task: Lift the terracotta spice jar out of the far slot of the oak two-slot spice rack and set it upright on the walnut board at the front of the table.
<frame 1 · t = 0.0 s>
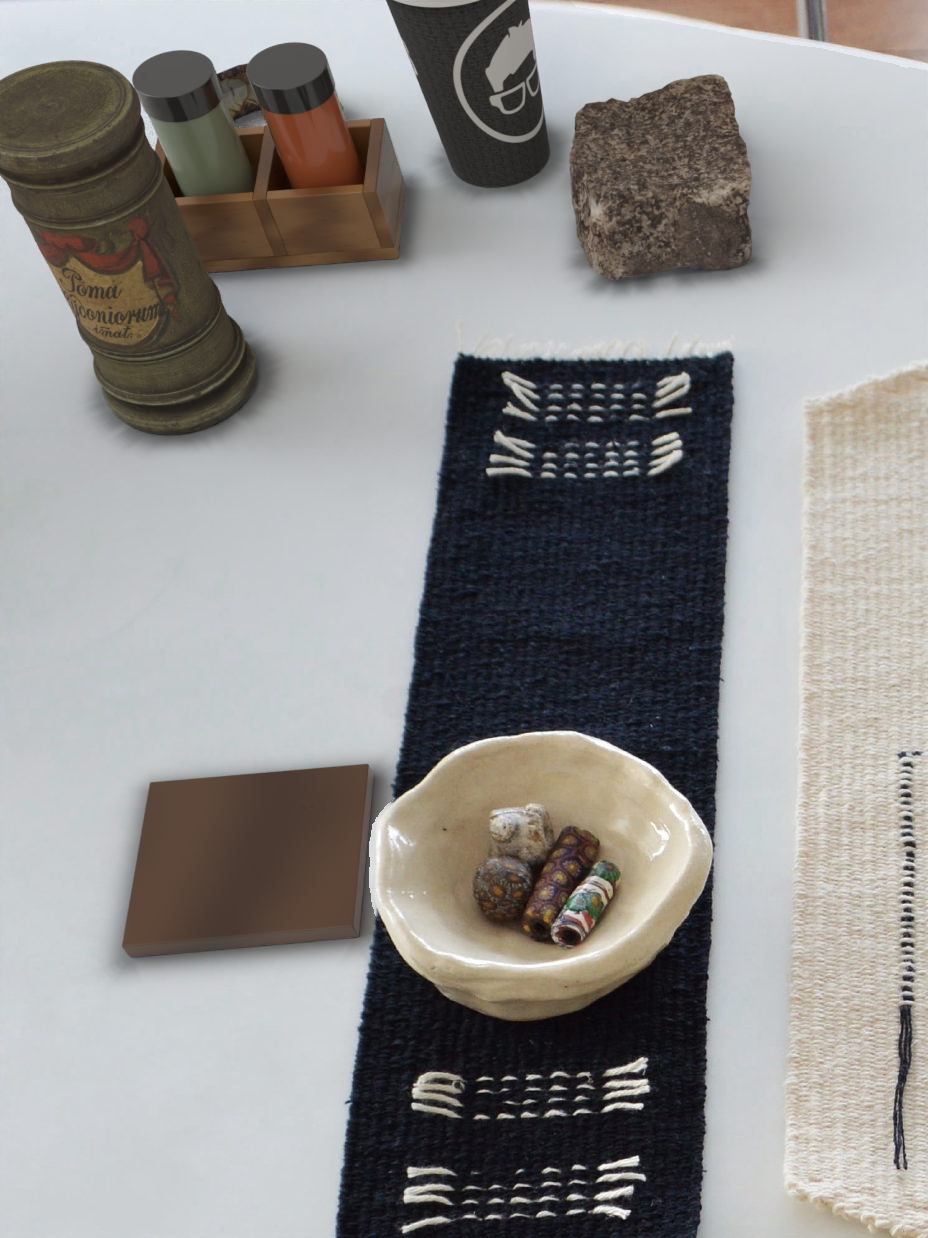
coffee cup: (501, 159, 122), on the table
jar b: (234, 222, 117), point 1 cm above the table, touching spice rack
container: (185, 387, 111), on the table
stone: (669, 214, 119), on the table
board: (255, 863, 93), on the table
spice rack: (291, 229, 118), on the table
decorative ring: (275, 147, 123), on the table
spice jar: (339, 214, 118), point 1 cm above the table, touching spice rack
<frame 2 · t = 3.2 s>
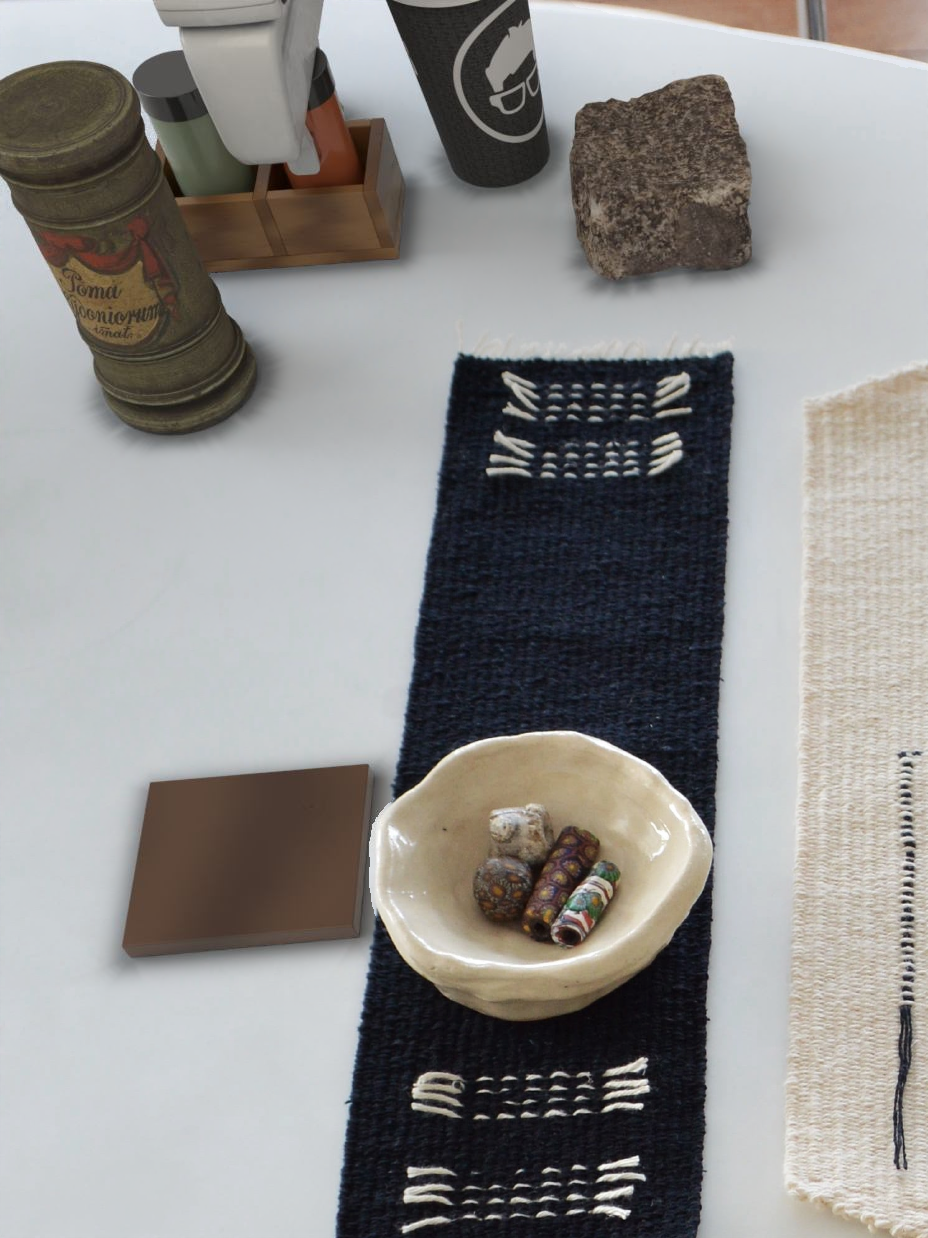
hand: (312, 138, 113), 6 cm above the table, tool pointing down, fingers closed on spice jar, 4 cm apart
spice jar: (339, 214, 118), point 1 cm above the table, touching gripper, spice rack
everything else where it was.
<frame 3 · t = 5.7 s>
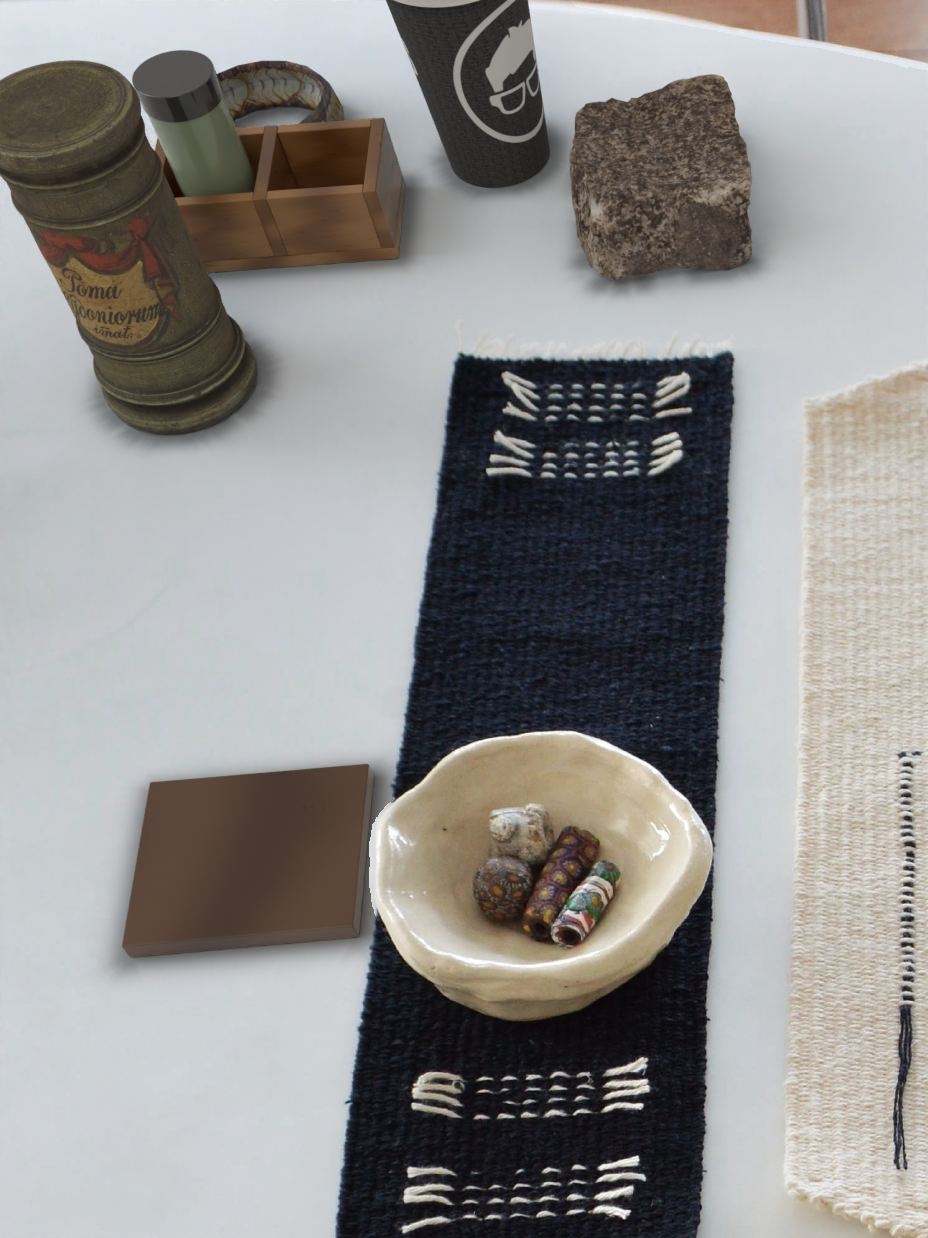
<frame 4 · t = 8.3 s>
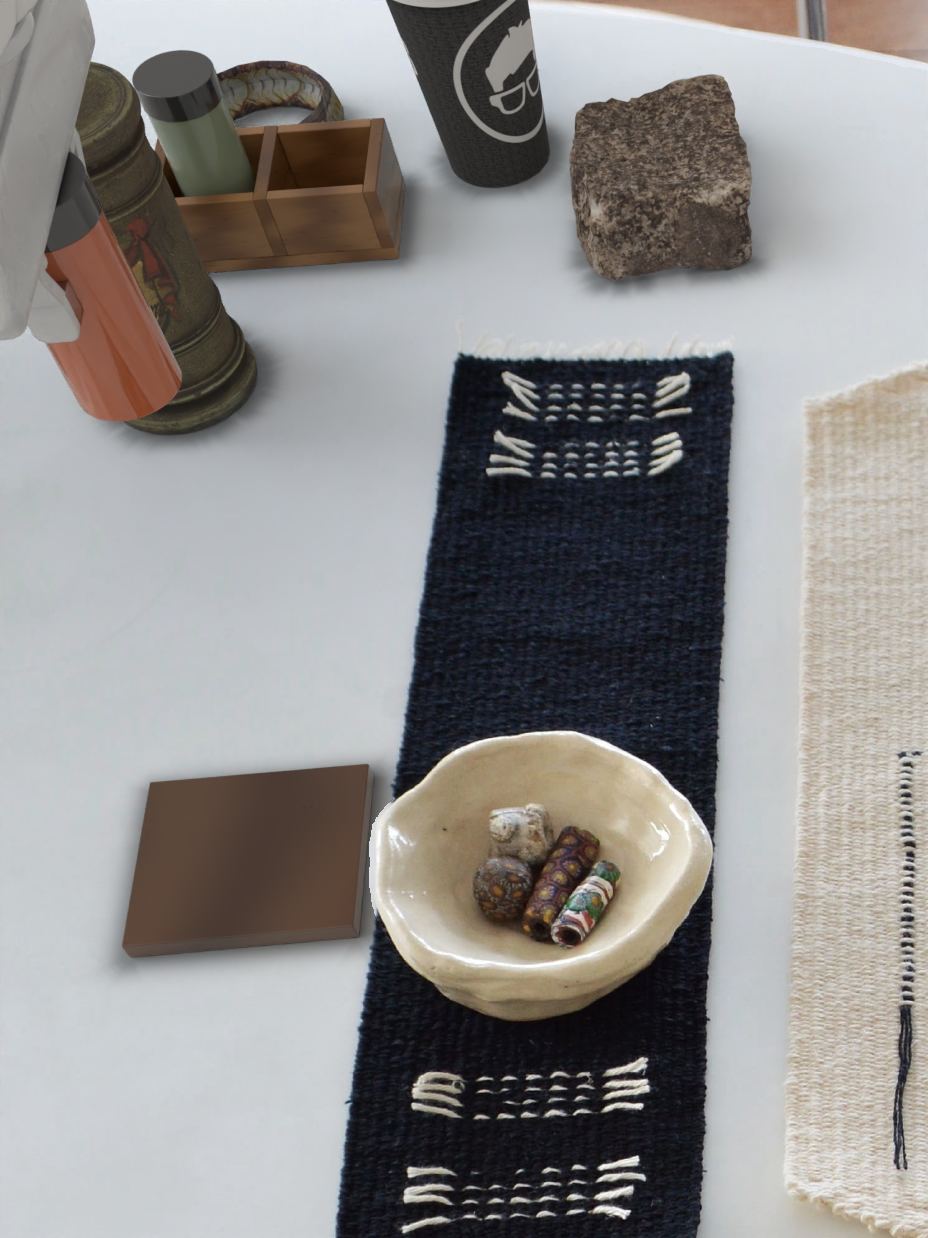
hand: (73, 285, 77), 25 cm above the table, tool pointing down, fingers closed on spice jar, 4 cm apart
spice jar: (130, 386, 81), point 20 cm above the table, touching gripper
everything else where it was.
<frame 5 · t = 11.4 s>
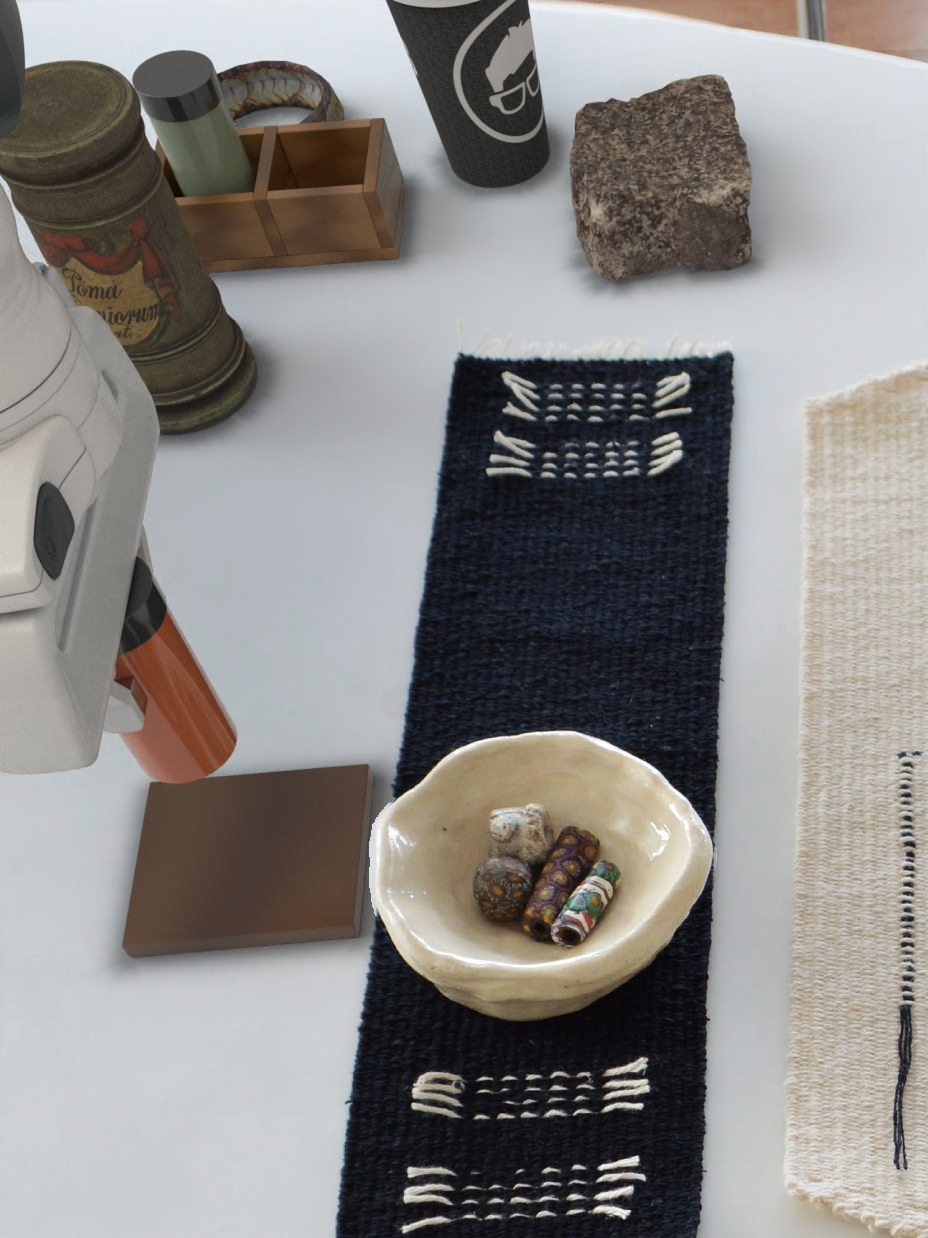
hand: (137, 668, 80), 15 cm above the table, tool pointing down, fingers closed on spice jar, 4 cm apart
spice jar: (187, 745, 85), point 9 cm above the table, touching gripper
everything else where it was.
when the fingers open (6 cm above the table, at t = 13.7 s): spice jar stays where it is, resting on board.
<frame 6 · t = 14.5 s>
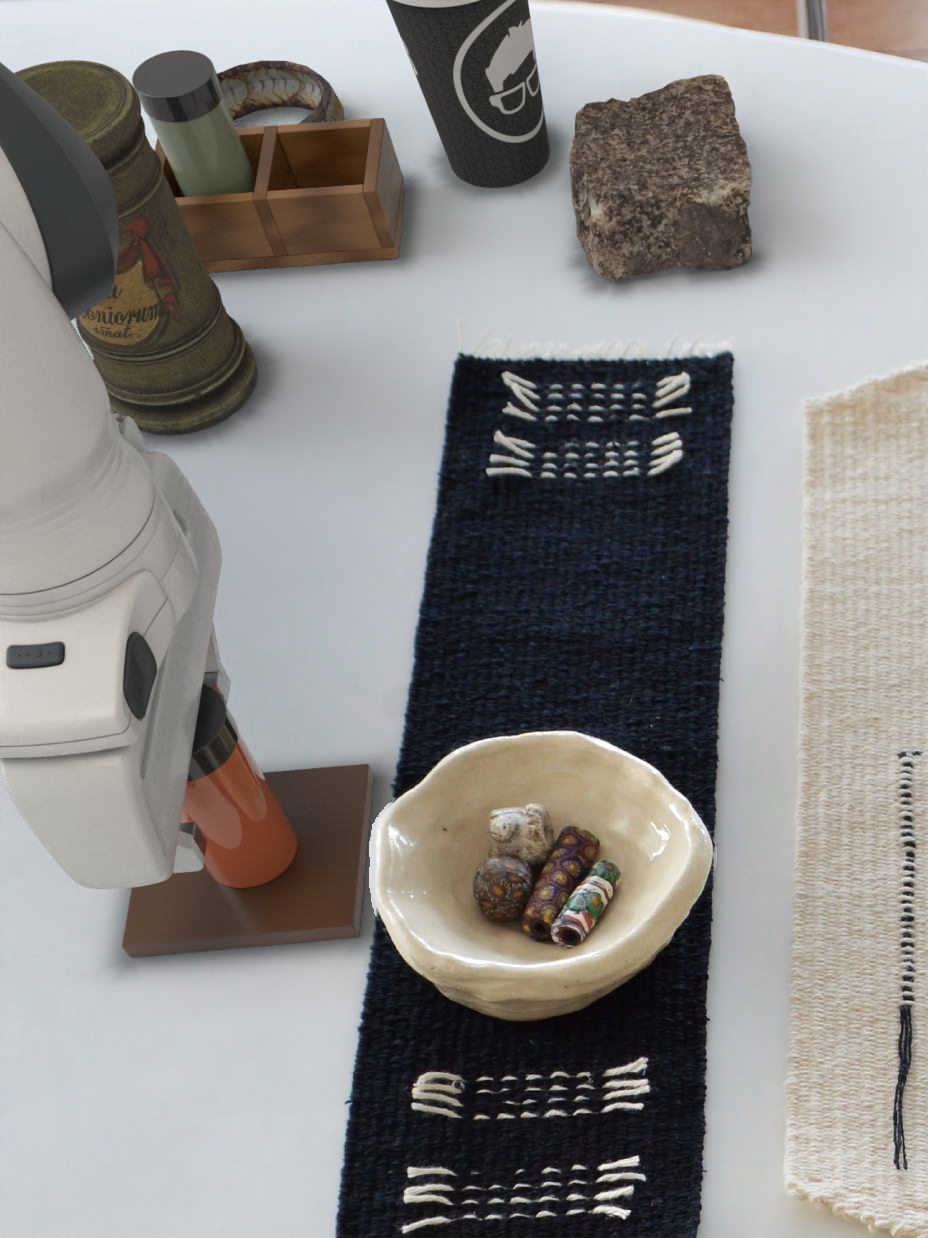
hand: (201, 777, 87), 7 cm above the table, tool pointing down, fingers open, 8 cm apart
spice jar: (251, 851, 92), point 1 cm above the table, touching board
everything else where it was.
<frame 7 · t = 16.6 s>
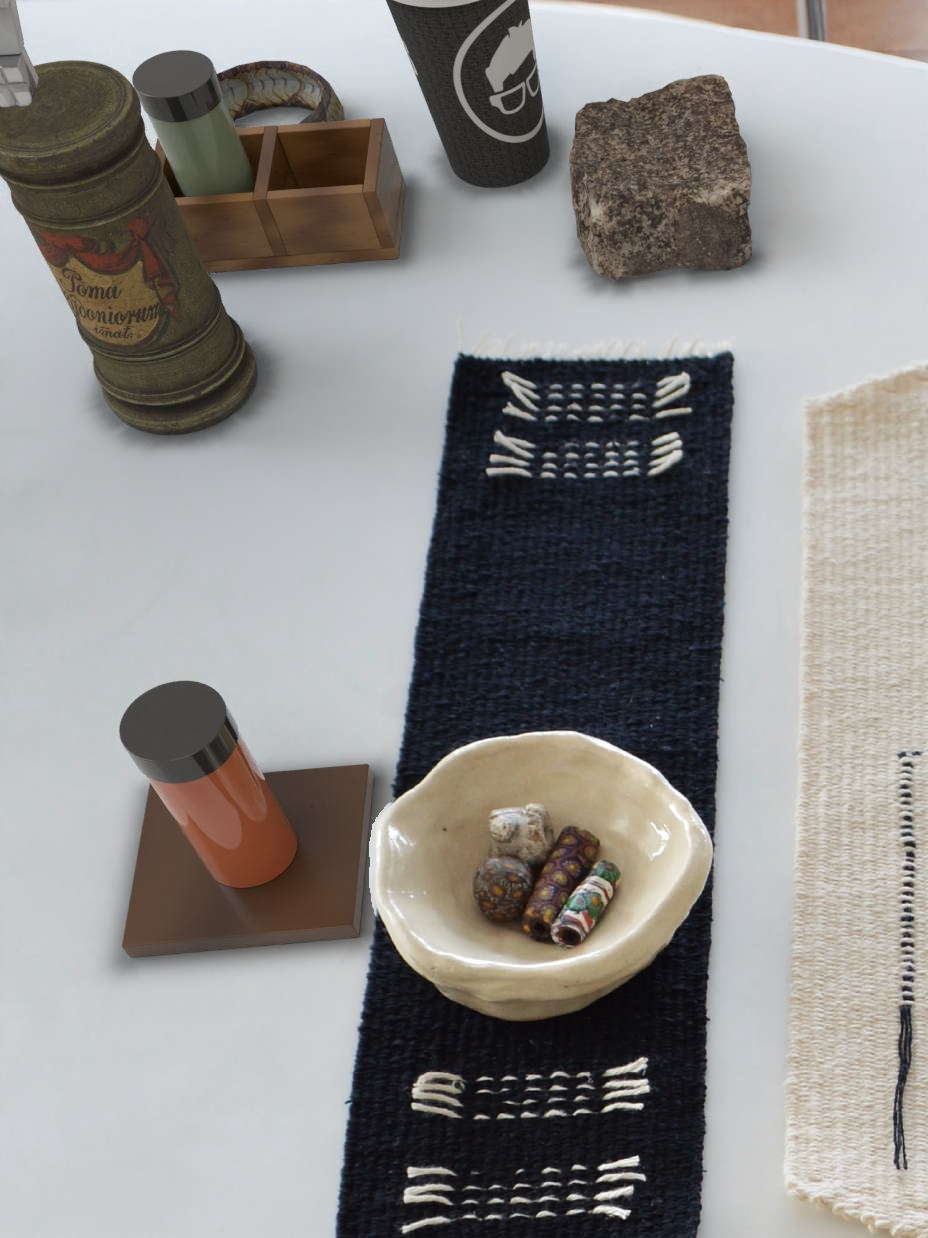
nothing on the table moved.
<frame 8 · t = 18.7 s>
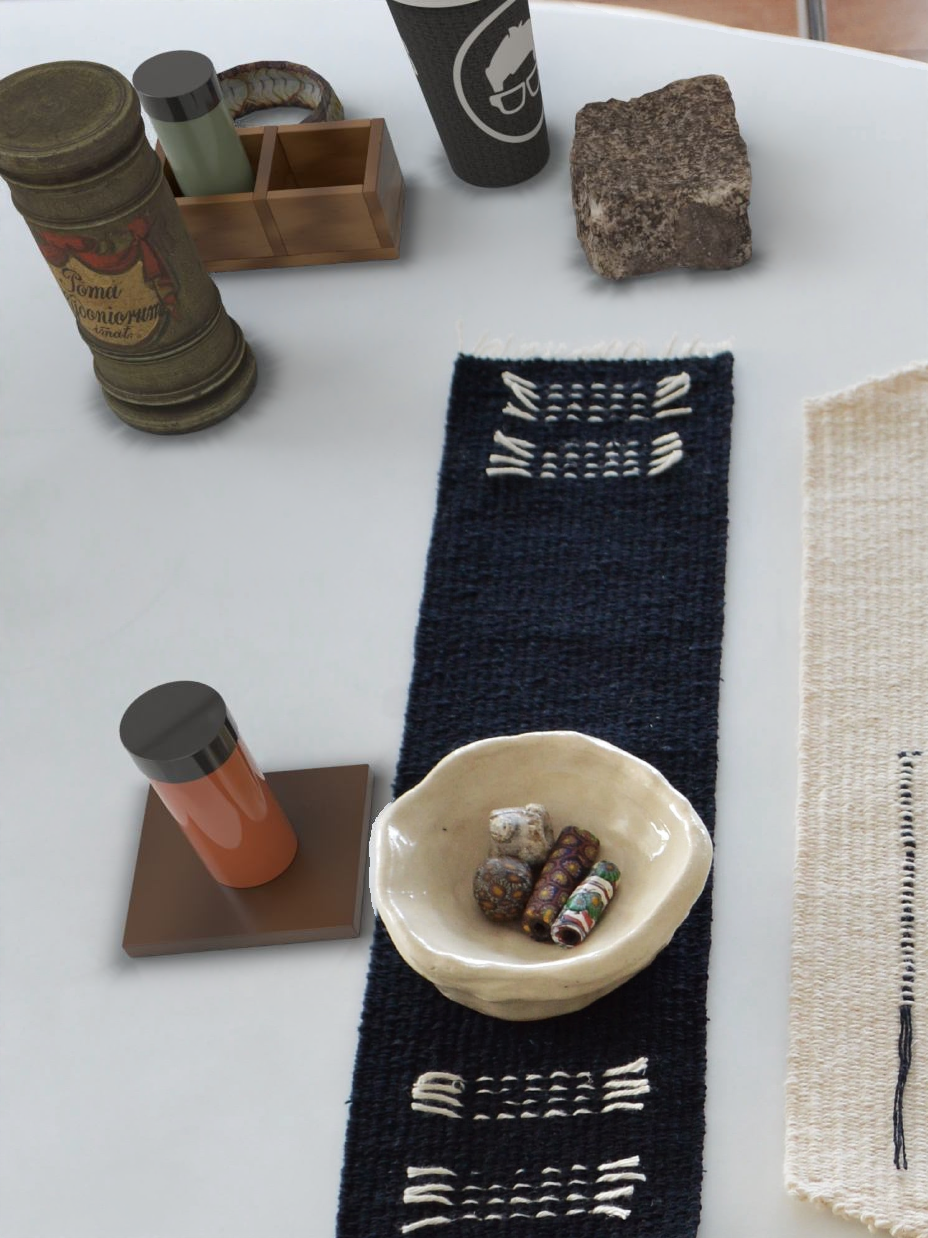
nothing on the table moved.
at the end: spice jar inside the target area on the board (0.1 cm from its centre), point 1.0 cm above the board's base; spice jar tilted 0°; the gripper is holding nothing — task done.
